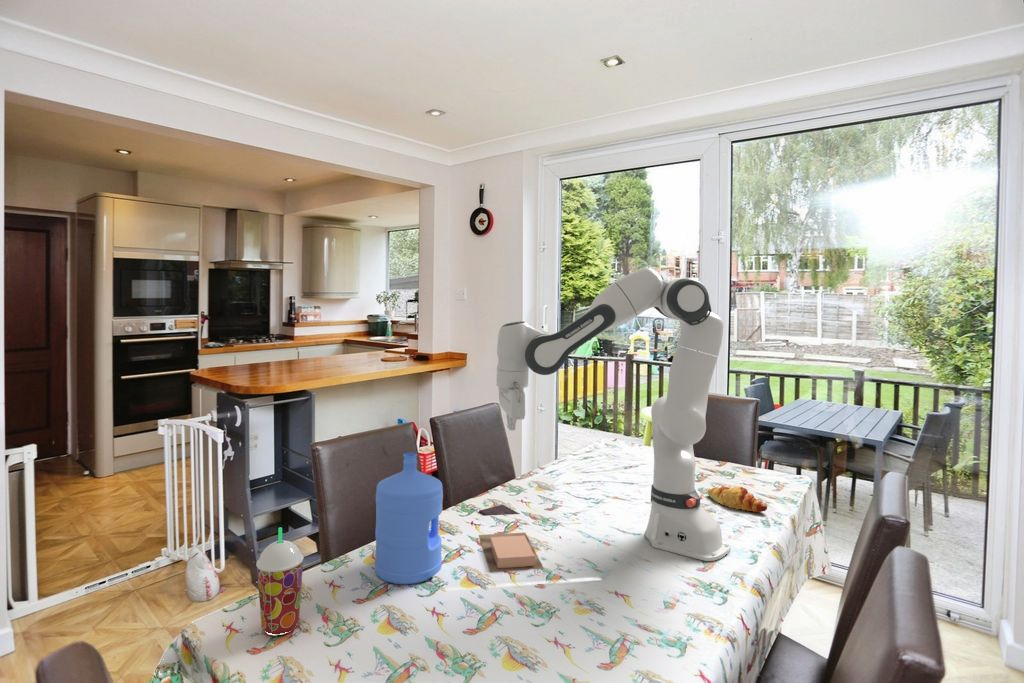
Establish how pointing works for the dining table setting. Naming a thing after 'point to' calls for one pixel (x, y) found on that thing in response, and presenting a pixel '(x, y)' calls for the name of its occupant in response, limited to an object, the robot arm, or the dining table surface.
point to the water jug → (408, 525)
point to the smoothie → (280, 585)
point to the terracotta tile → (512, 551)
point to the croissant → (736, 498)
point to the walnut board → (490, 558)
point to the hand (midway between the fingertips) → (511, 429)
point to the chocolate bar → (497, 511)
